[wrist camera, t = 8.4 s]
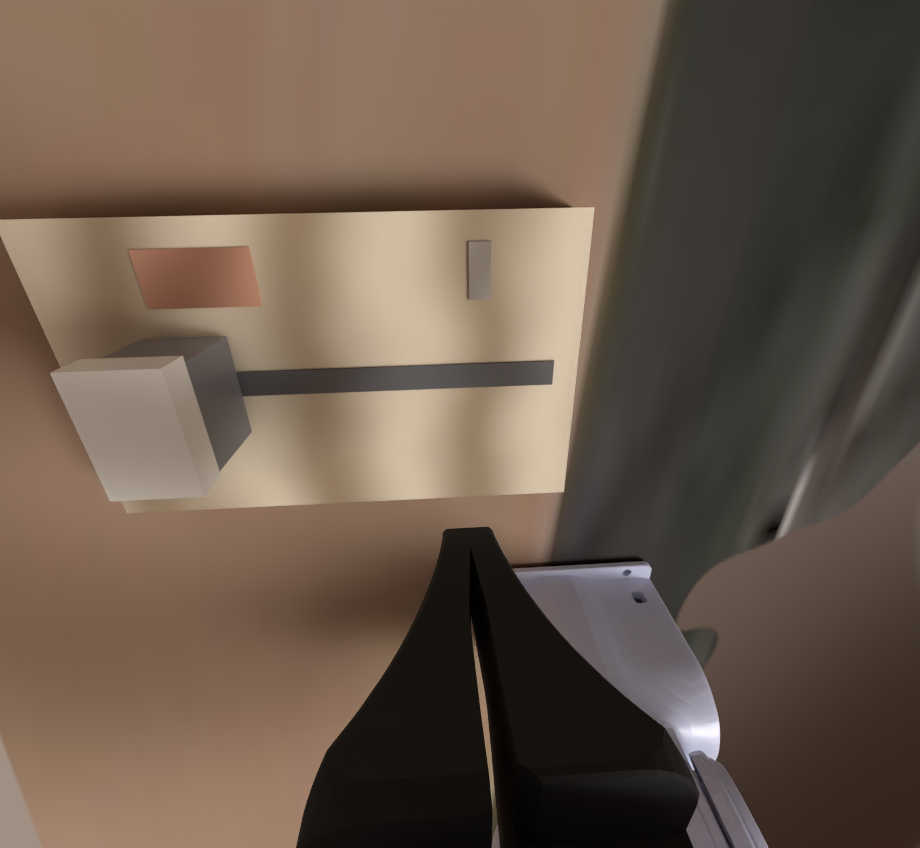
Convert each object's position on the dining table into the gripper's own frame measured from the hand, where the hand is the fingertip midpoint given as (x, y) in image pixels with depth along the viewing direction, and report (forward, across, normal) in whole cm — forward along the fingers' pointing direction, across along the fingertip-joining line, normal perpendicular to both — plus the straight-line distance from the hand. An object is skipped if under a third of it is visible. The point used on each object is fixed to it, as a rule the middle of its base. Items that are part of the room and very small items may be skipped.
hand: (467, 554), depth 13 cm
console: (+9, +5, -3) cm, 11 cm away
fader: (+7, +10, -3) cm, 12 cm away
